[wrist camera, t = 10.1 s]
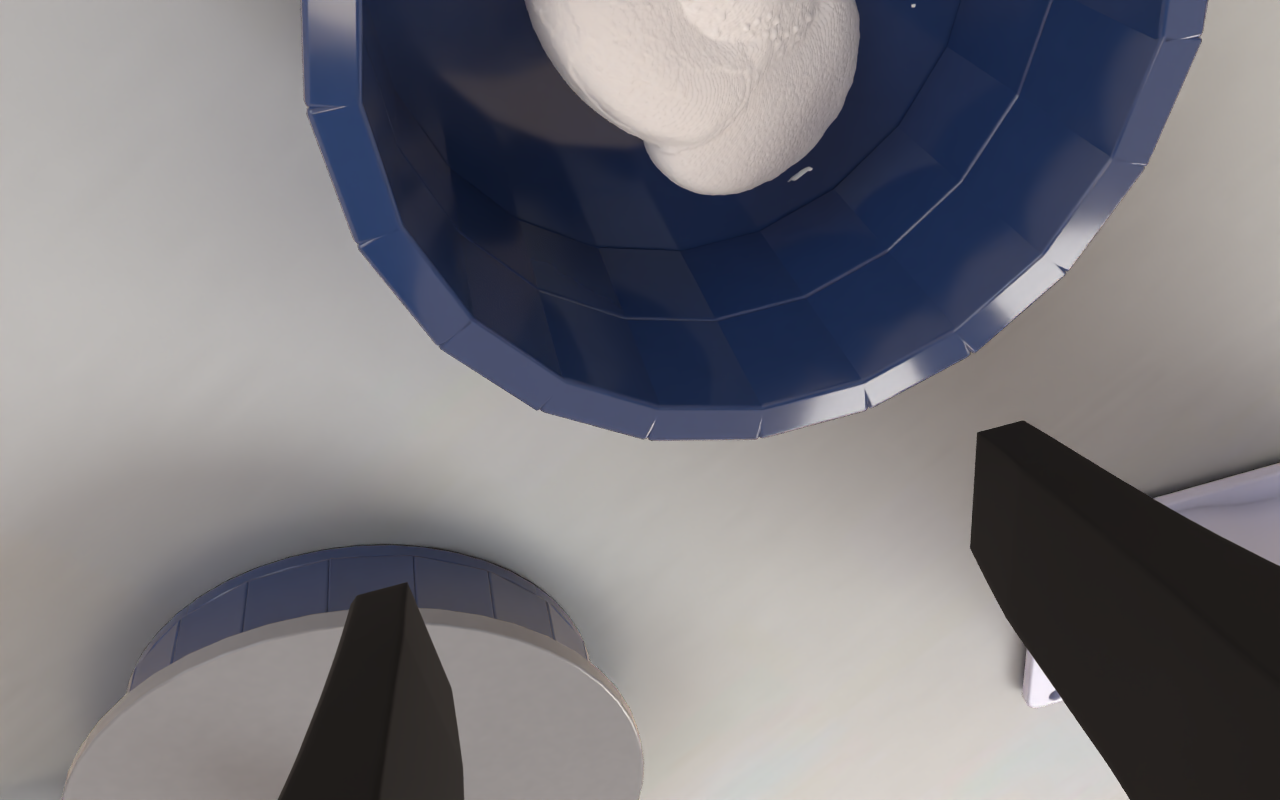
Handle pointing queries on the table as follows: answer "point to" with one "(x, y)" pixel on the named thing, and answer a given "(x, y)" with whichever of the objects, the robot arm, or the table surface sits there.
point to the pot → (735, 204)
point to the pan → (337, 582)
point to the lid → (291, 688)
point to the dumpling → (708, 78)
